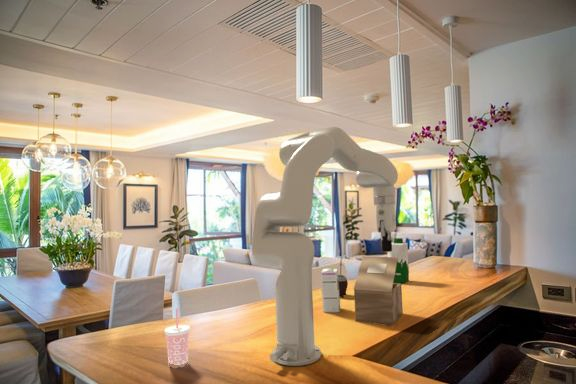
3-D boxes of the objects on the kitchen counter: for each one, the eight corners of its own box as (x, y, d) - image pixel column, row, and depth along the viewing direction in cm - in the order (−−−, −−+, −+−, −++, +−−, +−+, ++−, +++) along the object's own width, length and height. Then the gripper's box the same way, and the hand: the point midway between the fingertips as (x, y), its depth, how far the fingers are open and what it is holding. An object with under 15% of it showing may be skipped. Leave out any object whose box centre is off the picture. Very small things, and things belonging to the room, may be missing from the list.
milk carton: (411, 280, 179) (409, 238, 179) (405, 284, 171) (402, 240, 172) (393, 279, 184) (391, 237, 184) (386, 282, 176) (384, 239, 177)
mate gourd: (335, 298, 152) (333, 261, 152) (327, 294, 159) (325, 258, 160) (352, 296, 154) (350, 259, 155) (343, 292, 162) (341, 257, 162)
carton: (393, 325, 117) (391, 293, 117) (355, 321, 122) (354, 290, 123) (402, 313, 129) (401, 283, 129) (368, 309, 135) (366, 281, 135)
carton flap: (391, 293, 117) (390, 291, 117) (354, 290, 123) (353, 288, 122) (397, 258, 127) (397, 257, 126) (362, 257, 132) (362, 256, 132)
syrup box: (339, 312, 133) (337, 271, 133) (322, 312, 134) (320, 271, 134) (340, 308, 138) (338, 268, 139) (324, 307, 139) (322, 268, 140)
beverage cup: (162, 370, 92) (160, 312, 92) (170, 360, 98) (168, 305, 98) (187, 369, 92) (185, 311, 92) (193, 359, 98) (191, 304, 98)
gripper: (389, 201, 130) (392, 254, 130) (399, 199, 143) (402, 248, 143) (368, 202, 133) (371, 254, 133) (379, 200, 147) (382, 248, 146)
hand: (387, 251), depth 138 cm, fingers closed
